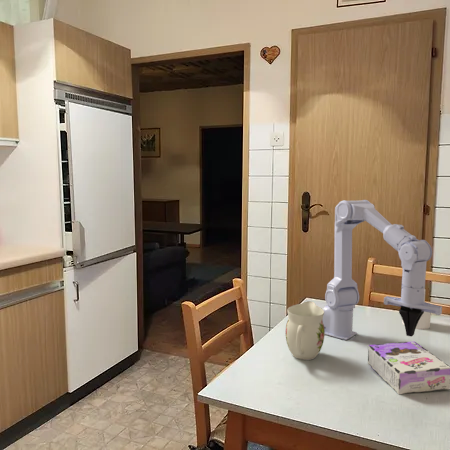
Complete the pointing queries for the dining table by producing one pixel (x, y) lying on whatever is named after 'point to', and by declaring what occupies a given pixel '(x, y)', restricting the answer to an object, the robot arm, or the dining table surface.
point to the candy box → (409, 367)
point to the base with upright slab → (423, 320)
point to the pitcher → (305, 330)
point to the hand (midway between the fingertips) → (410, 335)
